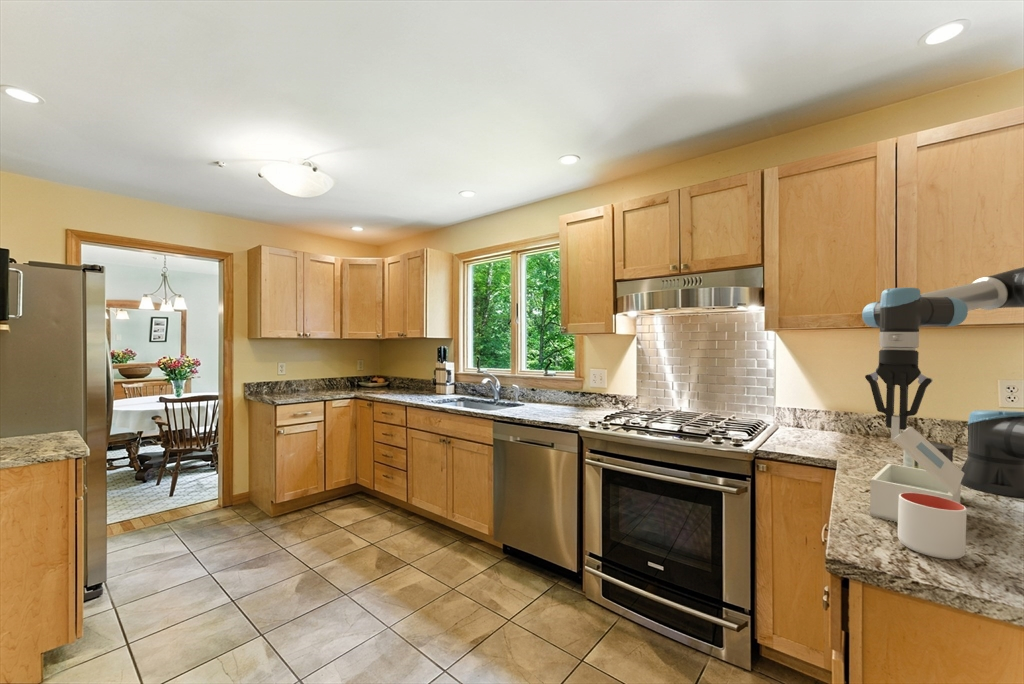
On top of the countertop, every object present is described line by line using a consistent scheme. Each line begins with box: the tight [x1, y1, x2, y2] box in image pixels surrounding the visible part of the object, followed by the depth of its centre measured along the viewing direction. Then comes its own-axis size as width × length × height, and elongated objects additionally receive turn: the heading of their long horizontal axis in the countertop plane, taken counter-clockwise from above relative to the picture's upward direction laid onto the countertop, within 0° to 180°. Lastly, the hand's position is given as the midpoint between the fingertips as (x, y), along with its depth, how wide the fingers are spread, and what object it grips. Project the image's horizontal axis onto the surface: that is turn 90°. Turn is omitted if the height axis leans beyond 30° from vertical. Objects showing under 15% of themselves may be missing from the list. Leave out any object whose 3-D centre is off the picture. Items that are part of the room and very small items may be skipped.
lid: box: [892, 425, 964, 495], centre depth 106 cm, size 14×23×1 cm
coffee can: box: [902, 441, 955, 470], centre depth 122 cm, size 10×10×14 cm
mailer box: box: [869, 462, 962, 524], centre depth 107 cm, size 14×22×9 cm, turn 131°
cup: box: [897, 493, 968, 560], centre depth 89 cm, size 10×10×10 cm
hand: (895, 441), depth 110 cm, fingers closed
